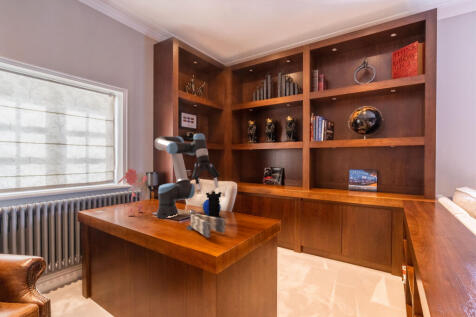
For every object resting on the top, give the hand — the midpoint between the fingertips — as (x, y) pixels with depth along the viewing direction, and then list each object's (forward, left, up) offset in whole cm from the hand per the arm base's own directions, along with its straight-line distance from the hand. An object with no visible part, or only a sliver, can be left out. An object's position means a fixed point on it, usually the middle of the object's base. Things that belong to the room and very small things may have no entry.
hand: (208, 188), depth 146 cm
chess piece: (-1, +5, -24) cm, 24 cm away
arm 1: (+10, -14, -21) cm, 28 cm away
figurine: (-66, -24, -24) cm, 75 cm away
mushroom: (-16, +14, -24) cm, 32 cm away
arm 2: (+10, -8, -21) cm, 25 cm away
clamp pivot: (-2, -11, -23) cm, 26 cm away
